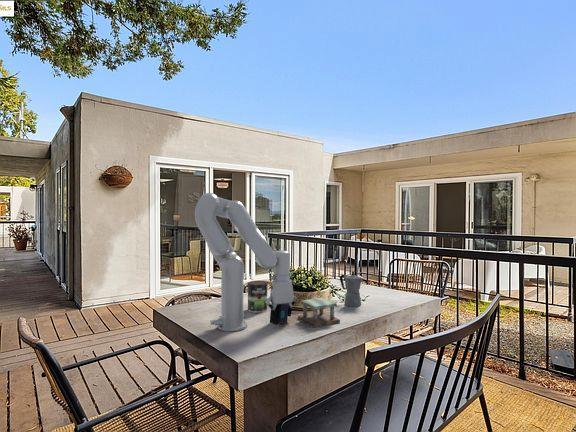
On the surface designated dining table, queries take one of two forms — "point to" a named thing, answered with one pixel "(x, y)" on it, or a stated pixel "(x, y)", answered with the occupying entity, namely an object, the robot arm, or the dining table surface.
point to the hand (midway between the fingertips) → (281, 316)
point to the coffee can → (257, 296)
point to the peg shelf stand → (321, 317)
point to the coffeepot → (352, 289)
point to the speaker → (280, 314)
